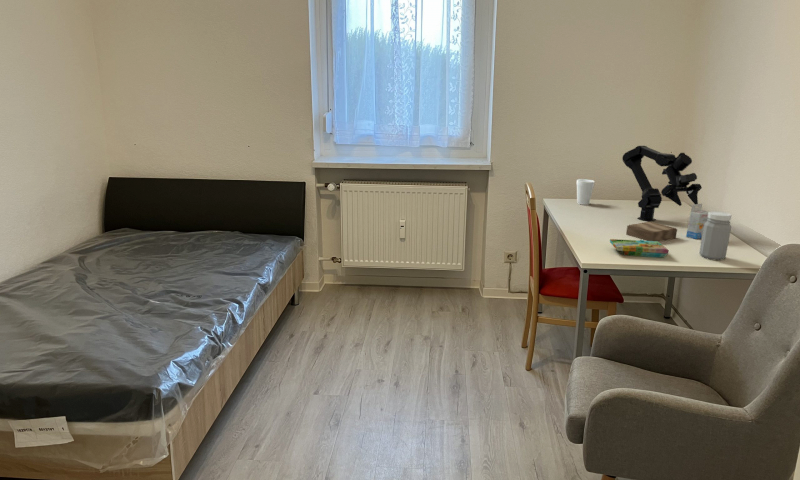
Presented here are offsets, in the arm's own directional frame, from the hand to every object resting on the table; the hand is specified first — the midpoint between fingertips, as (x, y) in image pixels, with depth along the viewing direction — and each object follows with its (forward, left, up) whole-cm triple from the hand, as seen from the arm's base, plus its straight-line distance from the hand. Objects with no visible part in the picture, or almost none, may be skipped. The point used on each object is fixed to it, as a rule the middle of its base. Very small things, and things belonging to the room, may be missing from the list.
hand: (688, 205), depth 279 cm
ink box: (+2, +7, -13) cm, 15 cm away
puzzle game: (+49, +11, -14) cm, 52 cm away
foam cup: (-5, -65, -13) cm, 66 cm away
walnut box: (+21, -3, -14) cm, 25 cm away
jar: (+26, +29, -13) cm, 41 cm away
